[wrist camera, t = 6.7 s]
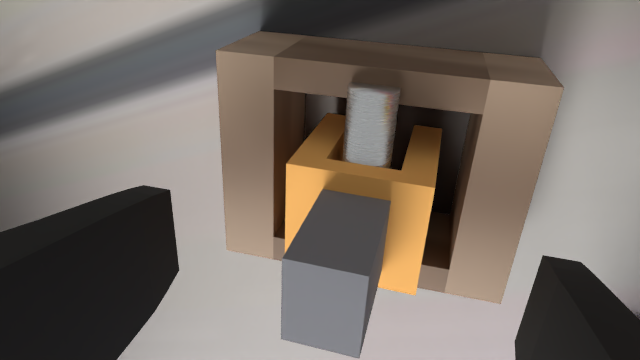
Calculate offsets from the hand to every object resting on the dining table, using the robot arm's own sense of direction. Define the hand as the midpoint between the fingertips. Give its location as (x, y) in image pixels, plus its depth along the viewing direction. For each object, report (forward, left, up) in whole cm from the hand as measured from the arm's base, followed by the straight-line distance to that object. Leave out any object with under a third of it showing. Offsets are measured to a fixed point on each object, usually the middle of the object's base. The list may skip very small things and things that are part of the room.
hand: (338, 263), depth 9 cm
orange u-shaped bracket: (-1, 0, -6) cm, 6 cm away
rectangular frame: (0, 0, -6) cm, 6 cm away
